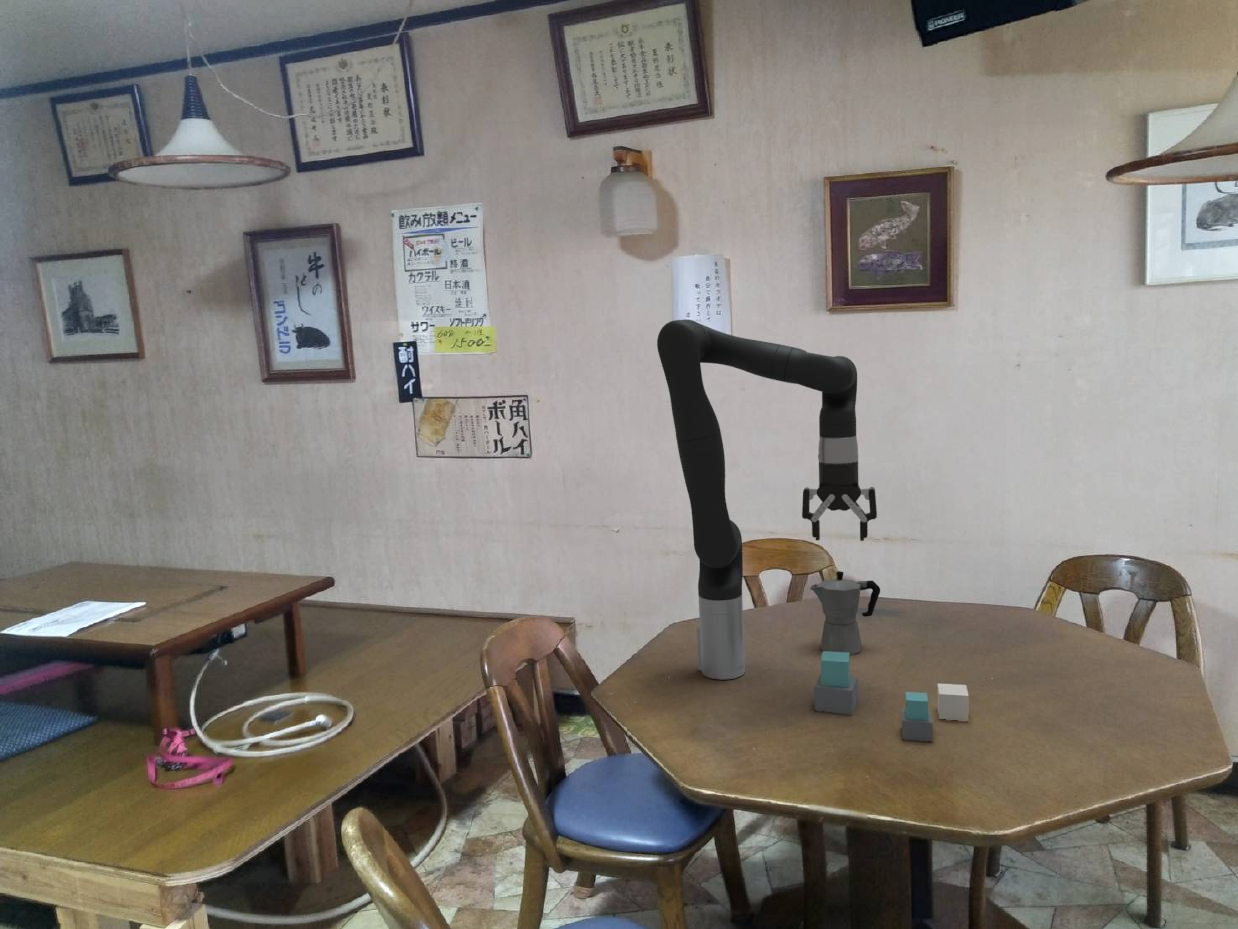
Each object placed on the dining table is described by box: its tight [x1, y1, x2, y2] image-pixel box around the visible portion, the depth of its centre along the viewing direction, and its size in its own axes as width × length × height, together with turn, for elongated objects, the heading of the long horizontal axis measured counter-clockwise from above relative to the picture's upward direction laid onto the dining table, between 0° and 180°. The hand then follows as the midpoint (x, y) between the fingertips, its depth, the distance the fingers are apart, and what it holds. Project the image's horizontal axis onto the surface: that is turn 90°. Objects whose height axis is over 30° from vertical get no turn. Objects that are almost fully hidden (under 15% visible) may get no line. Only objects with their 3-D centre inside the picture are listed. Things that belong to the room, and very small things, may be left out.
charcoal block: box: [813, 673, 859, 716], centre depth 169 cm, size 7×7×5 cm
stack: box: [901, 691, 934, 742], centre depth 155 cm, size 5×5×7 cm
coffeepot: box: [809, 571, 881, 656], centre depth 198 cm, size 15×9×18 cm, turn 87°
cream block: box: [937, 683, 970, 722], centre depth 163 cm, size 5×5×5 cm
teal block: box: [820, 650, 851, 688], centre depth 169 cm, size 5×5×5 cm
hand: (839, 539), depth 175 cm, fingers open, 8 cm apart
